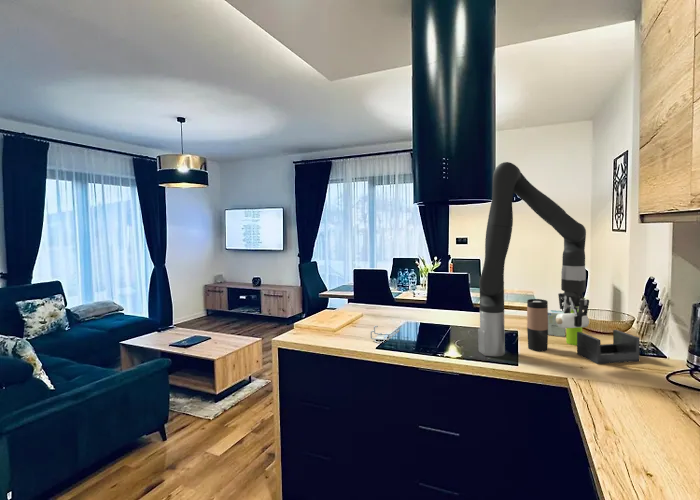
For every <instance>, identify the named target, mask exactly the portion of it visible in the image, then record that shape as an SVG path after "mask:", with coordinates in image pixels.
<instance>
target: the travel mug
mask: <svg viewBox="0 0 700 500" xmlns="http://www.w3.org/2000/svg"><path fill="white" fill-rule="evenodd" d="M526 301H527V302H526V303H527V305H526V306H527V307H526V313H527V315H526V322H527V323H526V327H527V328H526V331H527V348H528V350H530V351H533V352H546V351H548V345H549V343H548V339H549V338H548V337H549V335H548V310H549V309H548V308H549V307H548V304H549V303H548V300H547V299H541V298H530V299H529V298H528V299H527V300H526Z"/></svg>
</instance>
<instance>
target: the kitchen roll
mask: <svg viewBox="0 0 700 500" xmlns="http://www.w3.org/2000/svg"><path fill="white" fill-rule="evenodd" d="M574 316H575V314H574V313H564V314H557V316H556V323H557V325H558V327H559V328H579V327H576V326H574ZM589 323H590V319H589V316H588V315H587V316H582V326H581V327H582V328H587V327H588V326H589Z"/></svg>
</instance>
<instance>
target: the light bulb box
mask: <svg viewBox="0 0 700 500" xmlns="http://www.w3.org/2000/svg"><path fill="white" fill-rule="evenodd" d="M557 314H564V312H563V310H556V309H548V336H553V335H554V336H555V337H562V338H564V337H565V338H566V328H559V327H558V325H557V323H556V316H557Z"/></svg>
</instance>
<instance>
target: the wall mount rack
mask: <svg viewBox="0 0 700 500" xmlns="http://www.w3.org/2000/svg"><path fill="white" fill-rule="evenodd" d="M376 328H378V325H374V326H373V330H371V331H370V333H369V334H370V339H371V340H374V342H375V343H377V342H379V343H378V344H381V343H380V342H383V343H385V342H386V341H389V340H390V339H391V338H393V336H395V335H396V334H398V333H399V332H400V328H402V324H400V325H399V326H398V327H397V328H396V329H394V330H393V331H391V333H387V332H385V333H386V334H382V333H383V332H376ZM372 333H373V334H374V335H376V337H375V338H373V335H372ZM387 337H388V338H387ZM376 340H384V341H385V340H386V341H385V342H384V341H376Z"/></svg>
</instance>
